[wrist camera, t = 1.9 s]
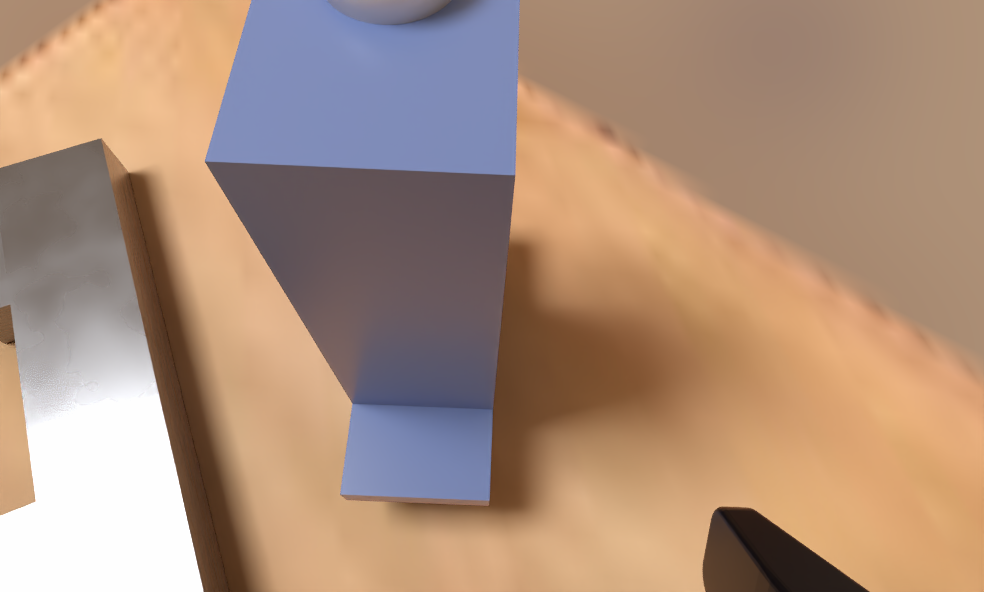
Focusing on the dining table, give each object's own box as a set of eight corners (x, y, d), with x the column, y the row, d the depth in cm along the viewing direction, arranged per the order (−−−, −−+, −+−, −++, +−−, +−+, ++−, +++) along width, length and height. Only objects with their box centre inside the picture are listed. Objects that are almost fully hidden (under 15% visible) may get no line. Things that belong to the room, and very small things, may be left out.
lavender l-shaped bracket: (487, 515, 20) (513, 329, 6) (358, 509, 20) (115, 311, 6) (498, 238, 24) (526, -215, 11) (392, 233, 24) (290, -226, 11)
